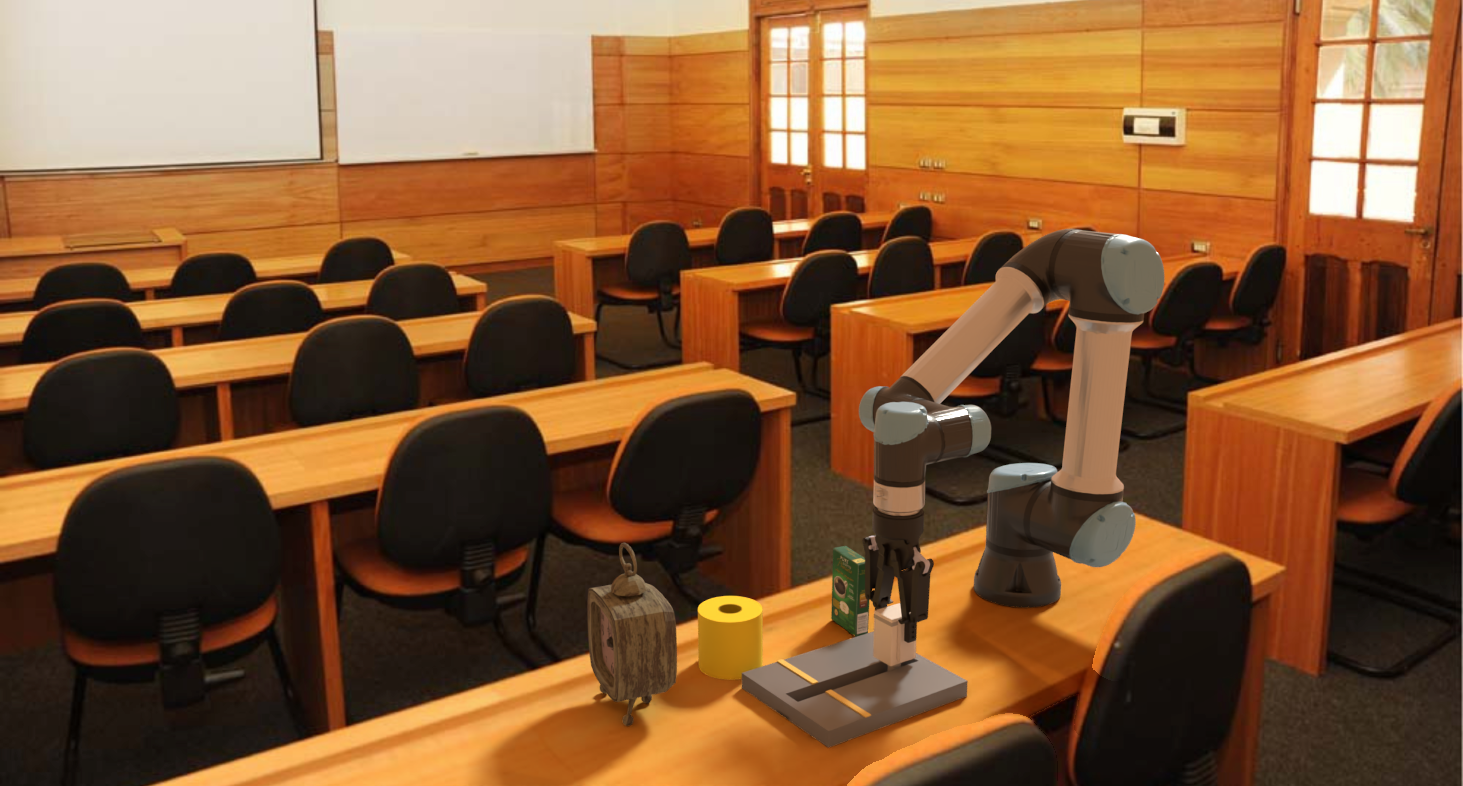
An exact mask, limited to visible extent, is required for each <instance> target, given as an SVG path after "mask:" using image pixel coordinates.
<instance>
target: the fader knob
mask: <svg viewBox="0 0 1463 786" xmlns="http://www.w3.org/2000/svg"><path fill="white" fill-rule="evenodd" d="M887 606H888V607H885V608H882V609H878V610H875V609H874V611H873V631H874V645H873V657H875V658H877V659H879V660H880V661H882V662H884V663H886V664H887V665H888V671H890V670H893V669H896V668H899V667H901V663H902V662H901V663H900V662H898V661H897V632H898V620H899V619H902V615H901V606H900V602H899V603H895V604H892V605H887ZM910 613H911V612H910ZM916 653H917V640H916V641H914V658H916ZM914 658H912V659H914ZM909 660H911V659H909ZM906 661H908V660H906ZM903 662H905V661H903Z"/></svg>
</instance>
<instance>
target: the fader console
mask: <svg viewBox="0 0 1463 786" xmlns="http://www.w3.org/2000/svg"><path fill="white" fill-rule="evenodd" d="M873 645H874V630H873V631H871V632H868V633H867V634H864V635H860V636H857V637H855V636H853V637H852V638H849V639H845V640H841V641H838V642H835V643H832V644H829V645H825V646H823V647H820V648H817V649H813V650H810V651H806V652H804V653H801V654H797V655H795V656H791V657H788V658H785V659H783V658H781V659H777V660H776V662H772V663H769V664H765V665H763V666H762V667H759V668H756V669H753V670H749V671H746V672H743V673H742V679H741V689H742V690H744V691H745V692H747V694H749V695H750V696H753V697H754V698H755V699H757V700H758V701H759V702H761V703H762V704H764V705H765V706H767V707H769V709H772V710H773V711H774V712H776V713H777V714H779V715H780V716H782V717H783V718H785V719H786V720H787V721H789V722H790V723H792V724H793V725H795V726H796V727H798V728H800V729H801V730H802V731H804V732H805V733H807V734H808V735H810V736H811V737H812V738H814V739H815V740H817V741H818V742H819V743H821V744H823V745H824V746H825V747H826V748H827V749H828V748H831V747H833V746H837V745H840V744H842V743H845V742H847V741H850V740H852V739H855V738H858V737H861V736H864V735H866V734H869V733H872V732H874V731H877V730H880V729H883V728H885V727H888V726H891V725H893V724H896V723H899V722H901V721H904V720H907V719H910V718H912V717H916V716H917V715H920V714H923V713H927V712H929V711H931V710H933V709H936V708H940V707H942V706H944V705H948V704H951V703H952V702H955V701H958V700H960V699H963V698H967V697H968V683H969V682H968V680H966V679H965V678H963V677H962V676H959V674H956V673H954V672H952V671H950V670H948V669H947V668H945V667H943V666H941V665H939V664H937V663H936V662H934V661H931V660H930V659H928V658H926V657H924V656H922V655H921V654H918V653H917V652H916V658H914V659H911V660H908V661H905V662H902V663H901V667H899V668H896V669H893V670H890V671H888V665H887V664H886V663H884V662H882V661H880V660H879V659H877V658H875V657H873Z"/></svg>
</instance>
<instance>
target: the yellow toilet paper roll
mask: <svg viewBox="0 0 1463 786" xmlns="http://www.w3.org/2000/svg"><path fill="white" fill-rule="evenodd" d="M763 614H764V613H763V606H762V605H761V603H760V602H758V601H757V600H755V599H752V598H749V597H745V596H739V595H723V596H722V595H721V596H716V597H711V598H709V599H706V600H705V601H702V602H701V603H700V604H699V605H698V607H697V639H698V640H697V643H698V645H697V647H698V648H697V650H698V653H697V654H698V658H697V659H698V668H699V670H700V671H701V672H702V674H705V675H707V676H708V677H711V678H715V679H717V680H718V679H719V680H731V681H732V680H734V681H735V680H742V673H743V672H746V671H749V670H753V669H756V668H759V667H762V666H764V664H763V663H764V662H763V658H764V657H763V655H764V654H763V648H764V647H763V646H764V645H763V640H764V639H763V637H764V636H763V627H764V625H763V622H764V620H763Z"/></svg>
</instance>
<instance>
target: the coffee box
mask: <svg viewBox="0 0 1463 786" xmlns="http://www.w3.org/2000/svg"><path fill="white" fill-rule="evenodd" d="M831 577H832V578H831V580H832V582H831V614H830V619H831V620H832V621H833V622H834V623H835V624H836V625H838V626H840V627H842V628H843V629H844V630H846V631H847V632H848V633H849V634H851V635H853V637H857V636H860V635H864V634H867V633H869V622H870V620H869V619H870V617H869V616H870V600H867V599H866V597H865V556H863V555H861V554H859V553H858V552H856V551H854V550H853V549H851V548H850V547H848V546H847V545H844V546H843V545H842V546H836V547H833V548H832V575H831Z"/></svg>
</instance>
